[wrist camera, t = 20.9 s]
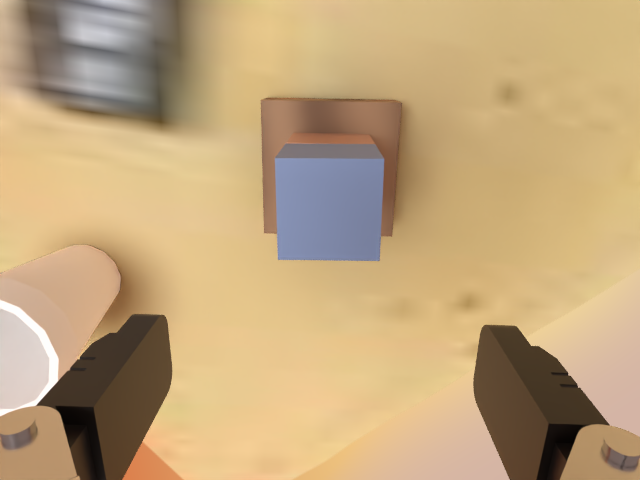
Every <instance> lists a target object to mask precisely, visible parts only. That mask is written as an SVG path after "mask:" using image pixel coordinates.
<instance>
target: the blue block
mask: <svg viewBox="0 0 640 480" xmlns="http://www.w3.org/2000/svg"><path fill="white" fill-rule="evenodd" d="M383 177H384V157H383V156H382V154H381V153H380V151H379V149H378V148H377V146H376V145H375V144H285V145H284V146H283V148H282V149H281V150H280V152H279V153H278V155H277V156H276V157H275V179H276V212H277V244H278V260H351V261H380V240H381V219H382V198H383Z"/></svg>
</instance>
